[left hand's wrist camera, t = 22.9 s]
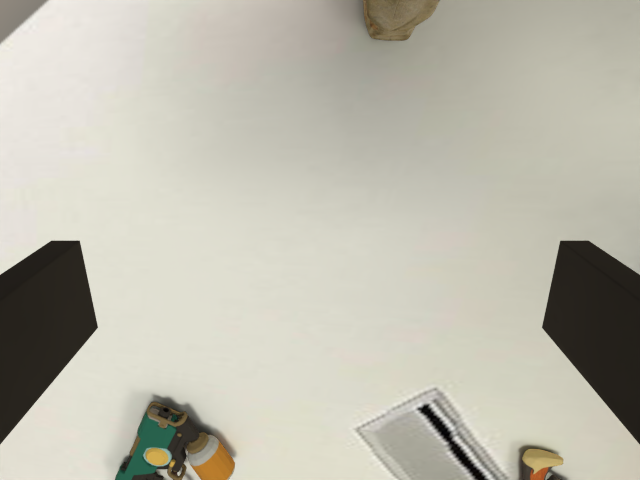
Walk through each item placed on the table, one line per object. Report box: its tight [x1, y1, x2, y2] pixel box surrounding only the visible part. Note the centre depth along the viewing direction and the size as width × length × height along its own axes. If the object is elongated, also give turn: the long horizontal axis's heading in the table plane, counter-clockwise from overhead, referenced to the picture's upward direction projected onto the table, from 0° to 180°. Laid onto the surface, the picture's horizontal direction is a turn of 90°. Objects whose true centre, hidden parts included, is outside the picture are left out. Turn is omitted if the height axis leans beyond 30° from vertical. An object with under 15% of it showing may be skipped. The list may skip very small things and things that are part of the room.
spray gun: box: [115, 402, 235, 480], centre depth 57 cm, size 4×17×15 cm
